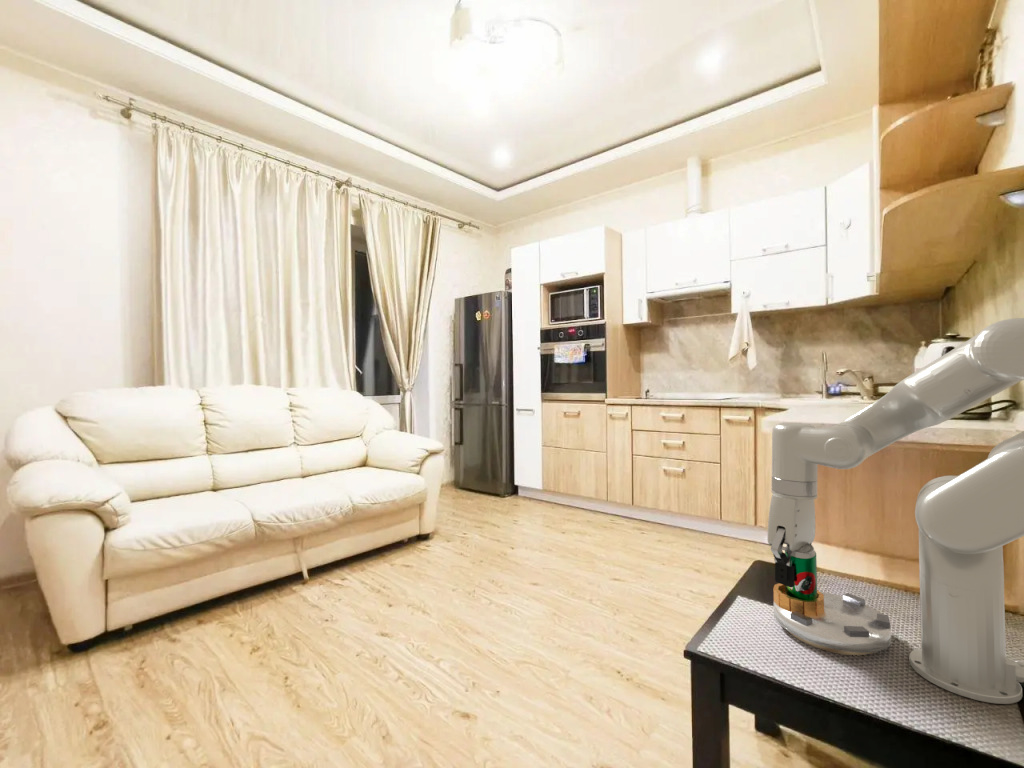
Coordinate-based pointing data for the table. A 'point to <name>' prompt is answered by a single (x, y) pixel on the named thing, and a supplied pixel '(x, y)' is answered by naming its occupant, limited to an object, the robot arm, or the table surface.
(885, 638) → the oval platform with pads
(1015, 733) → the table surface
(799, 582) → the soda can
